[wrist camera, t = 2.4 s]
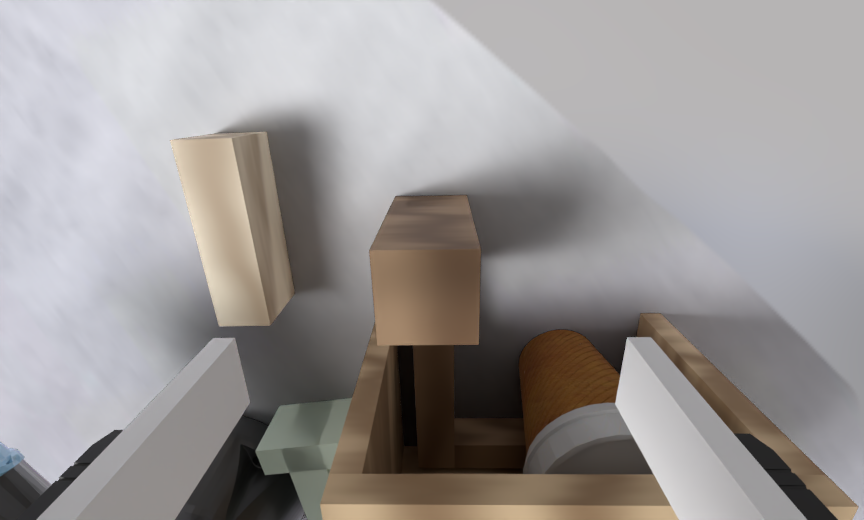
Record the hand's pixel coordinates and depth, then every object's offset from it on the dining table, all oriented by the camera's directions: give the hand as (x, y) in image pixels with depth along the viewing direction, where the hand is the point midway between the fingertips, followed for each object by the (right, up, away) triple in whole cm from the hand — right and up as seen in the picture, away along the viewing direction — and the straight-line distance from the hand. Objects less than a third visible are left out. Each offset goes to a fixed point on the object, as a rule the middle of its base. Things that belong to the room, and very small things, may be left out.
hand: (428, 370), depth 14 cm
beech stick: (-13, +7, +16) cm, 21 cm away
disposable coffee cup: (+10, -5, +20) cm, 23 cm away
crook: (+6, -2, +18) cm, 19 cm away
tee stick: (-9, -13, +23) cm, 28 cm away
